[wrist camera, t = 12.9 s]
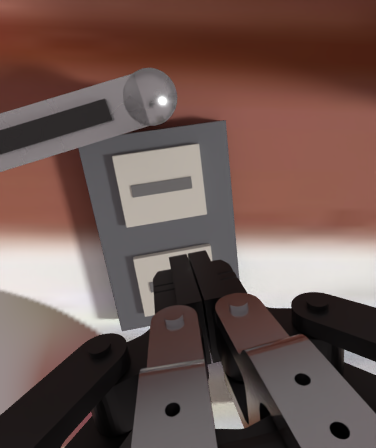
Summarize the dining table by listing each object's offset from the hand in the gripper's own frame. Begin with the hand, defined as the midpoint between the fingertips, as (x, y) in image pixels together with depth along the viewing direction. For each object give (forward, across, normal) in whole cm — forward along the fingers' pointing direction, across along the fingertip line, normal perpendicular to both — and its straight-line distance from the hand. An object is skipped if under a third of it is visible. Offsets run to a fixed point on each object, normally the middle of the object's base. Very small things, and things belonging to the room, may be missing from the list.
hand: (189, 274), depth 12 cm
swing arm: (+11, +9, -6) cm, 15 cm away
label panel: (+17, 0, +4) cm, 17 cm away
